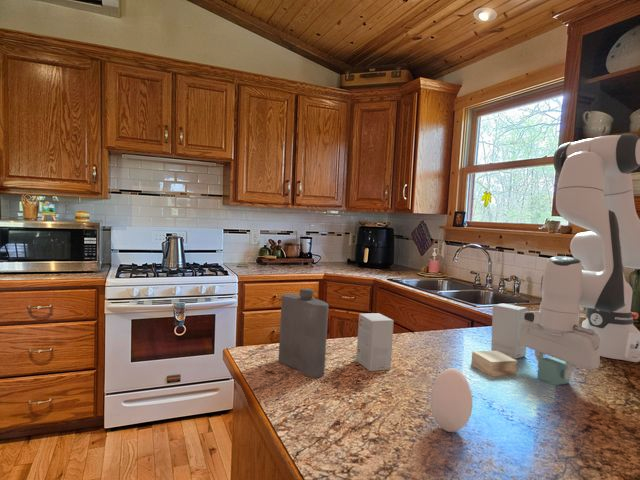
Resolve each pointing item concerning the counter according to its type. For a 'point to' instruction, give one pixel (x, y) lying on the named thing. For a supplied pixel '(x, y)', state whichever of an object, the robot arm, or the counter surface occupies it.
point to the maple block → (494, 363)
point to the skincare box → (507, 330)
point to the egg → (451, 400)
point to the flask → (303, 333)
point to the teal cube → (552, 370)
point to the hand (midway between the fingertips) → (553, 373)
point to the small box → (374, 341)
